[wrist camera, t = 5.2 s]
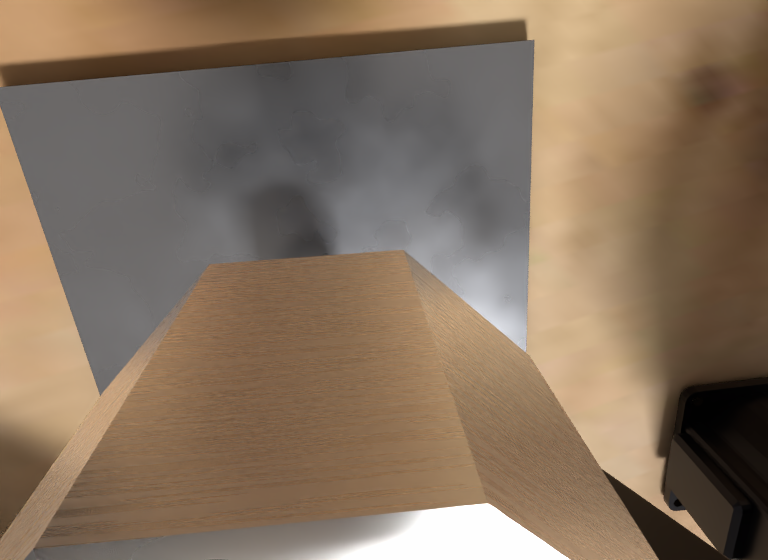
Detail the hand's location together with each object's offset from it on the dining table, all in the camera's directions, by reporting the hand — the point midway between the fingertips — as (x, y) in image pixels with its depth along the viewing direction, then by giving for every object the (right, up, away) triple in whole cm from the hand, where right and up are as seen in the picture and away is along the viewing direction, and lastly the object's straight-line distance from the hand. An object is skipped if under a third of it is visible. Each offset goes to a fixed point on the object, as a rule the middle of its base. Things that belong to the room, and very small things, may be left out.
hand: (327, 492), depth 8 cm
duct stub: (-2, +3, +11) cm, 12 cm away
